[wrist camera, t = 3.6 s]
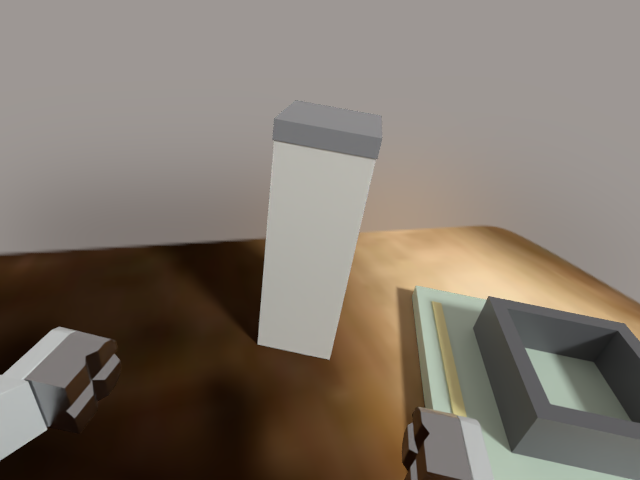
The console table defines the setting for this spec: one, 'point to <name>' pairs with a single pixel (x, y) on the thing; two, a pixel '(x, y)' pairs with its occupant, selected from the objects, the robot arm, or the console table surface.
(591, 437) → the board
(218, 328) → the console table surface
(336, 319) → the plug
